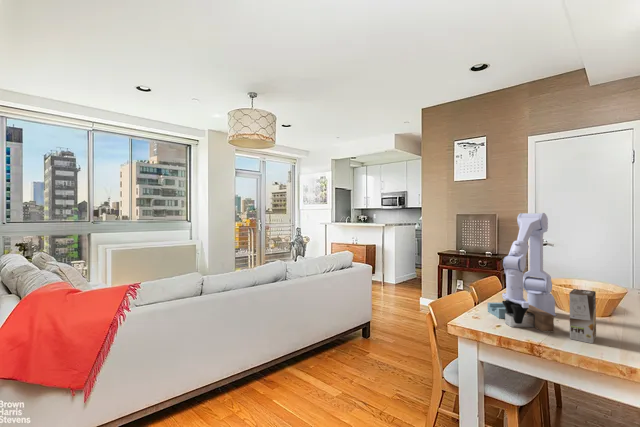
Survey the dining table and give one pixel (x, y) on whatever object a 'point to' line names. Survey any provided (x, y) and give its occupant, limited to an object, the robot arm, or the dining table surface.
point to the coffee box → (583, 315)
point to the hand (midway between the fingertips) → (515, 321)
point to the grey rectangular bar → (527, 321)
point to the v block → (497, 310)
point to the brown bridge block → (542, 319)
